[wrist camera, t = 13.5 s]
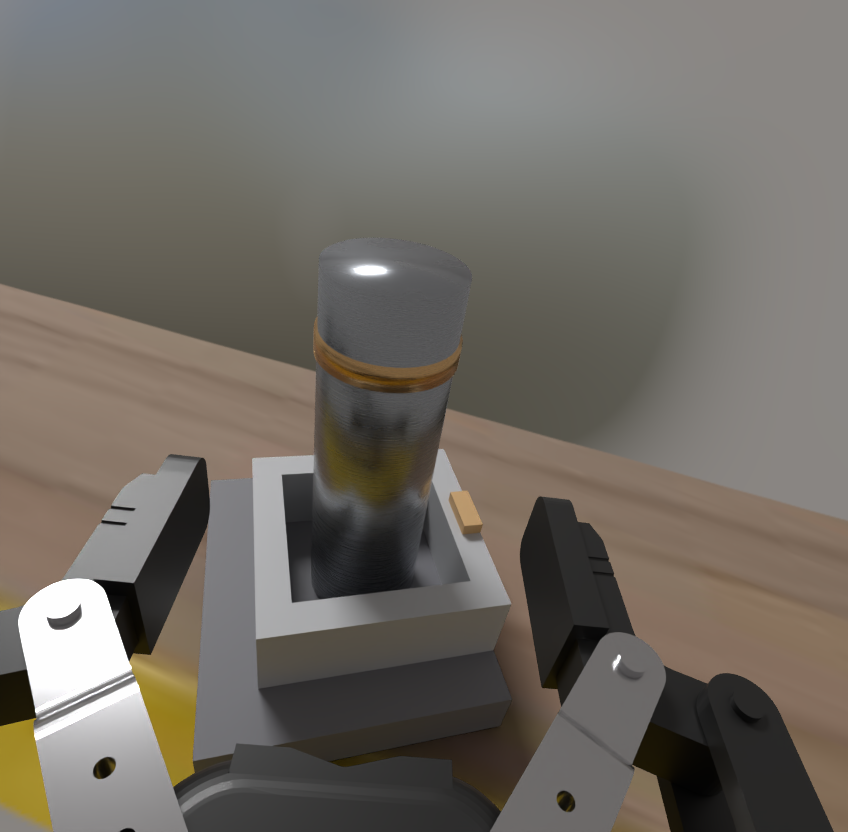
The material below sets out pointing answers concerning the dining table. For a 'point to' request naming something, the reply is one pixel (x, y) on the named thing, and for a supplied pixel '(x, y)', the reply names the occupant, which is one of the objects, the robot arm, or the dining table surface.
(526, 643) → the dining table surface
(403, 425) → the metal canister
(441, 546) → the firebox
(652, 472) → the dining table surface
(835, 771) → the dining table surface
